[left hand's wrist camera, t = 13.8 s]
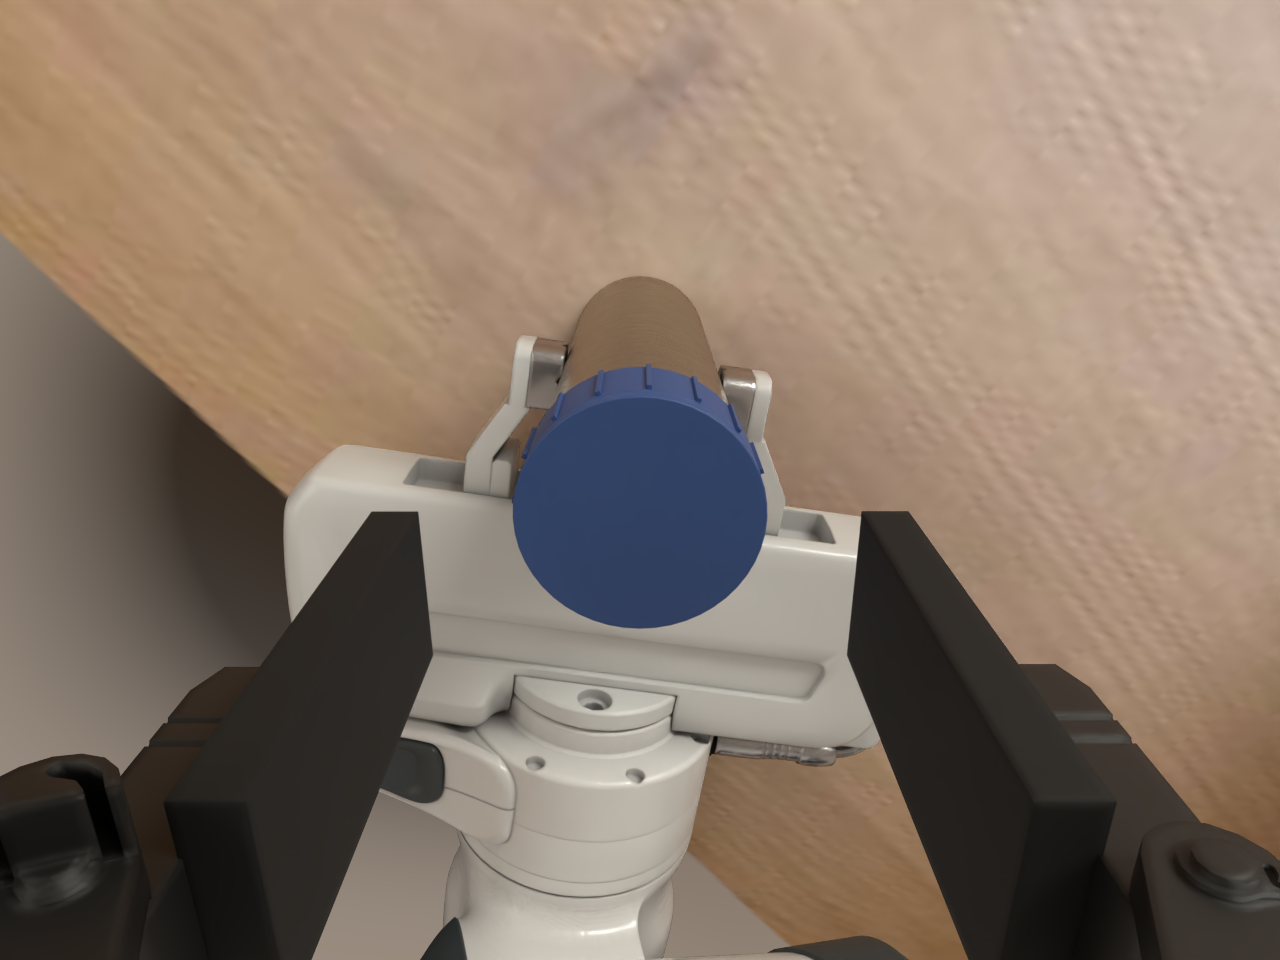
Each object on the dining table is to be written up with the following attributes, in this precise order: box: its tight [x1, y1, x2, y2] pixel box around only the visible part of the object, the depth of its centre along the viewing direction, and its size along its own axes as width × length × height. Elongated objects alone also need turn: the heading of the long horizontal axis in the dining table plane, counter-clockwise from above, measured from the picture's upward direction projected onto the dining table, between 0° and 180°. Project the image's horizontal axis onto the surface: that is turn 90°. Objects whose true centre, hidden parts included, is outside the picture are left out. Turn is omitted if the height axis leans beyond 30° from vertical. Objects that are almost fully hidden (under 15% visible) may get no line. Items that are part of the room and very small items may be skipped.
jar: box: [551, 276, 728, 406], centre depth 24 cm, size 5×5×16 cm
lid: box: [512, 364, 768, 629], centre depth 18 cm, size 5×5×2 cm
